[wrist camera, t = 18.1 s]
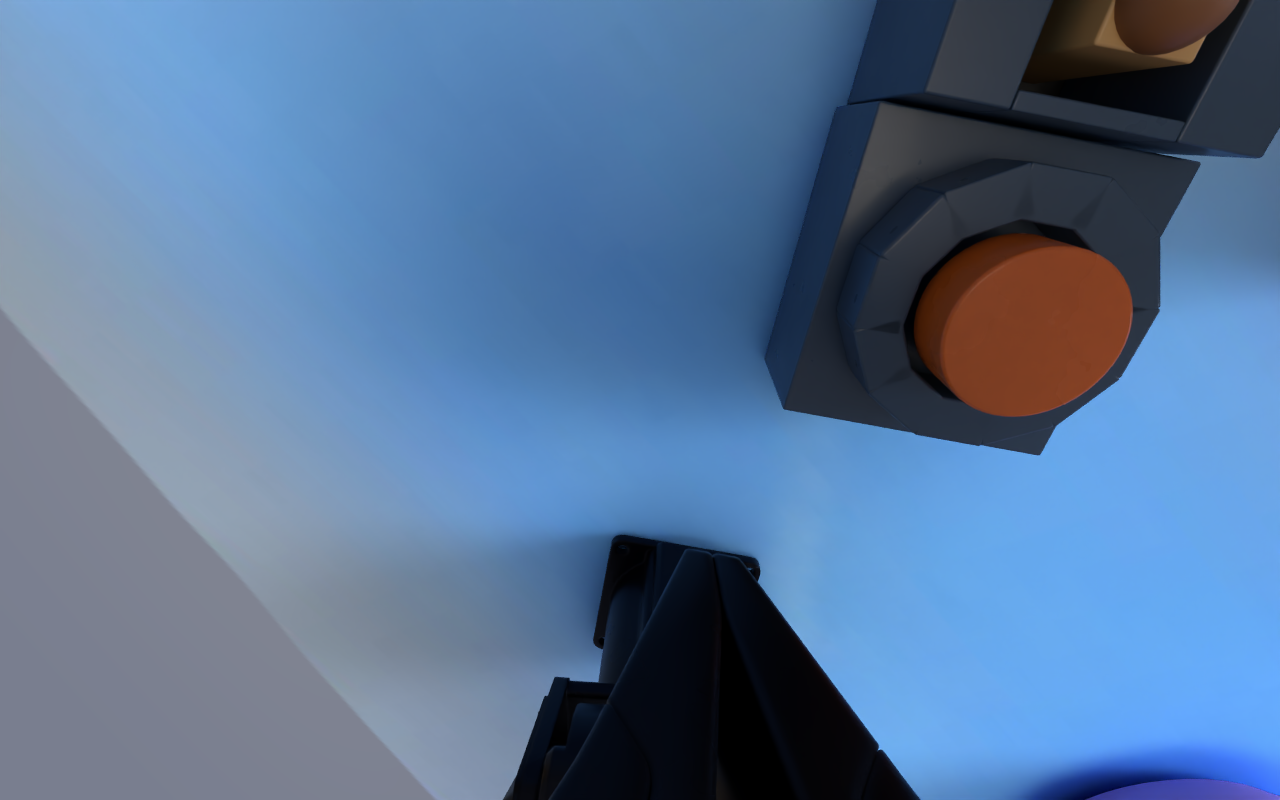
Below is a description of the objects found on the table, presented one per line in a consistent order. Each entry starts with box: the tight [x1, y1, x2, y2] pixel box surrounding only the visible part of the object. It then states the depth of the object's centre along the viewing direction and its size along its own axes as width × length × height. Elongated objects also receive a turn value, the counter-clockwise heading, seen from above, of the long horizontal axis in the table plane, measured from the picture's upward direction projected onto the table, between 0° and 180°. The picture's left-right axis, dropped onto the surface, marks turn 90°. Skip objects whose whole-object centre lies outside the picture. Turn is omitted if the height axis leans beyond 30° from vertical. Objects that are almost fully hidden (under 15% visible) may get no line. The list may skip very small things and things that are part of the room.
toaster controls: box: [765, 101, 1201, 455], centre depth 17 cm, size 8×8×6 cm
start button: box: [914, 233, 1133, 417], centre depth 14 cm, size 4×4×2 cm
